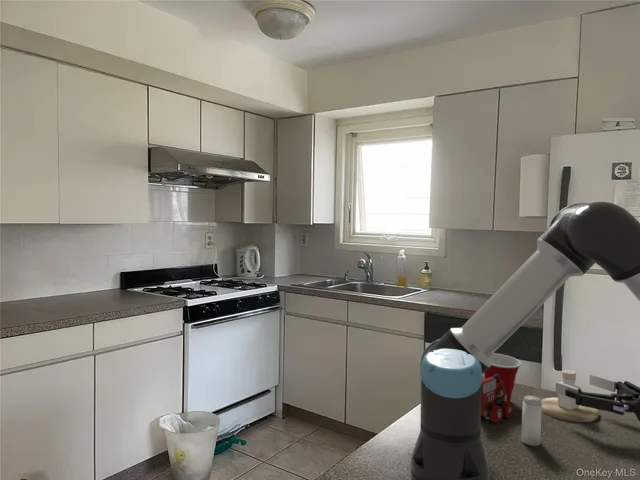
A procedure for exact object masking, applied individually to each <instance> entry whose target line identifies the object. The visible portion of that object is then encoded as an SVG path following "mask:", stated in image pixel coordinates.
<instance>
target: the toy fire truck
mask: <svg viewBox="0 0 640 480" xmlns="http://www.w3.org/2000/svg"><path fill="white" fill-rule="evenodd" d="M513 414H514V404H513V402H511V401H510V402H509V401H507V392H506V389H505V386H504V382H503V381H502V380H501V377H500V375H498V374H494V375H493V377H489V378H486V379H485V378H484V379H483V380H482V385H481V417H489V419H490V421H491V422H492V423H495V424H499V423H501V422H502V419H503V417H504V418H507V419H511V417H512V415H513Z"/></svg>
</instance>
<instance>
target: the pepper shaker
mask: <svg viewBox="0 0 640 480" xmlns="http://www.w3.org/2000/svg"><path fill="white" fill-rule="evenodd" d="M561 373H562V374H561V378H562V381H560V383H563V384H566V385H569V386H572V387H575V388H581V387H580V385H579V384H578V383H576V379H577V372H576V371H574V370H569V369H563V370H562V371H561ZM557 398H558V406H560V407H563V408H566V409H568V410H573V409H577V408H579V405H576V404H575V403H576V400H575V399H572V398H569V397H566V396H564V395H561V394H558V393H557Z"/></svg>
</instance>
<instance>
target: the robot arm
mask: <svg viewBox="0 0 640 480" xmlns="http://www.w3.org/2000/svg"><path fill="white" fill-rule="evenodd" d="M536 243H537V246H536V247H537V248H536V251H535V252H533V254H532V255H530V257H529V258H528V259H527V260H526V261H525V262H524V263H523V264H522V265H521V266H520V267H519V268H518V269H517V270H516V271H515V272H514V273H513V274H512V275H511V276H510V277H509V279H507V280H506V281H505V282H504V283H503V284H502V285H501V286H500V287H499V289H498V290H496V291H495V293H494V294H492V296H490V298H489V299H487V300H486V301H485V303H484V304H483V305H482V306H481V307H479V309H478V310H477V311H476V312H475V313H474V314H473V315H471V317H470V318H469V319H468V320H467V321H466V322H465V323H464V324H463V325H462V326H461V327H451V328H449V329H448V331H446V332H445V333H444V335H442V337H441V338H439V339H436V340H434V341H432V342H431V343H430V344H429V345H428V346H427V347H426V348H425V349H424V351H423V352H422V354H421V355H422V356H421V360H420V364H419V367H420V368H419V374H420V375H419V377H420V431H419V433H418V437H417V439H416V442H415V445H414V449H413V451H412V454H411V459H410V460H411V461H410V465H411V466H410V470H411V472H412V474H413V476H415V478H416V479H417V480H490V471H491V470H490V464H489V461H488V457H487V455H486V450H485V448H484V444H483V441H482V437H481V436H482V434H481V433H482V432H481V428H482V425H481V424H482V416H481V385H482V380H484V379H483V377H484V375H483V374H484V372H485V371H486V370H487V369H488V368H489V367H490V366H491V355H492V354H493V353H495V352H496V351H497V350H498V349H499V348H500V347H501V346H502V345H503V344H504V343H505V342H506V341H508V339H509V338H510V337H511V336H512V335H513V334H515V332H517V330H518V329H520V327H521V326H523V324H525V323H526V321H528V319H529V318H531V316H532V315H534V313H535V312H536V311H538V310H539V308H540V307H542V306H543V305H544V303H546V302H547V301H548V300H549V299H550V298H551V297H552V295H554V294H555V293H556V292H557V291H558V290H559V289H560V288H561V287H562V286H563V284H565V283H566V281H568V280H569V279H570V278H572V277H583V276H584V275H585V274H586V273H587V272H588V271H589V270H590V269H591V268H592V267H593V266H594V265H595V264H596V265H597V266H599V267H600V268H601V269H602V270H604V271H605V272H606V273H607V274H608V275H609V277H610V278H611V279H612V280H613V281H614V282H616V283H622V284H624V285H625V286H626V287H627V288H628V290H629V291H630V292H631V293H632V294H633V295H634V296H635V298H636V299H637V300H638V301H639V302H640V221H639V220H637V218H636V217H635V216H634V215H633V214H632V213H630V212H629V211H628V210H626V209H625V208H624V207H622V206H620V205H619V204H616V203H613V202H607V201H594V202H580V203H572V204H570V205H568V206H565V207H563V208H562V209H561V210H559V211H558V212H557V213H556V214H555V215H554V216H553V217H552V219H551V221H550V223H549V225H548V228H547V229H546V230H545V231H544V232H543V233H542V234H541V235H540V236H539V237H538V238H537V239H536ZM560 382H561V381H560ZM560 382H559V381H555V394H557V395H558V394H561V395H564V396H566V397H569V398H572V399H575V400H576V403H575V404H576V405H580V406H585V407H589V408H594V409H597V410H598V411H599V410H600V411H604V412H609V413H614V414H616V415H619V416H624V415H625V413H629V414H630V413H634V414H635V416H636V418H637V420H638V421H639V422H640V386H638V385H636V384H634V383H631V382H630V381H627V380H625V381H623V382H622V381H616V380H614V379H610V378H606V377H603V376H599V375H597V374H593V373H590V374H589V385H591V386H593V387H595V388H596V387H597V388H601V389H602V390H606V391H609V392H612V393H610V394H605V393H604V394H603V393H598V392H597V393H596V392H590V391H589V392H588V391H582V388H581V387H580V388H575V387H572V386H569V385H566V384H563V383H560Z"/></svg>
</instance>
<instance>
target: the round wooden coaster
mask: <svg viewBox="0 0 640 480" xmlns="http://www.w3.org/2000/svg"><path fill="white" fill-rule="evenodd" d="M541 403H542V413H544V414H545V415H547V416H550V417H552V418H554V419H558V420H562V421H565V422H573V423H591V422H594V421H597V420H598V419H599V416H600V415H599V413H600V411H599V409H594V408H589V407H585V406H580V405H579V408H577V409H573V410H568V409H566V408H563V407H560V406H558V397H546V398H541Z"/></svg>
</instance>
